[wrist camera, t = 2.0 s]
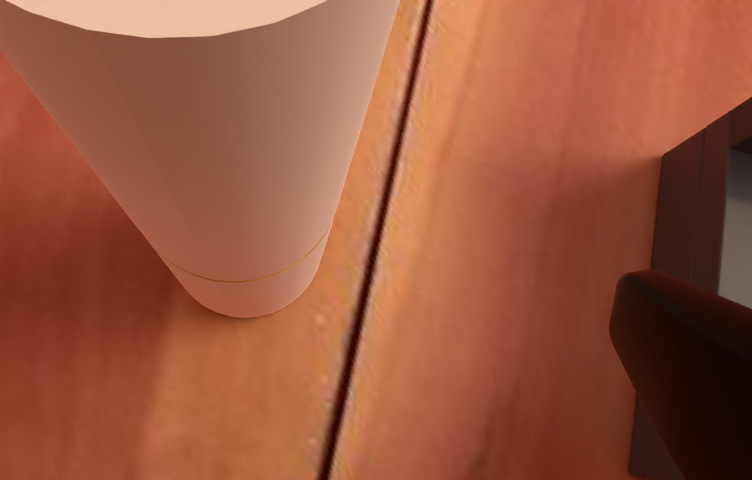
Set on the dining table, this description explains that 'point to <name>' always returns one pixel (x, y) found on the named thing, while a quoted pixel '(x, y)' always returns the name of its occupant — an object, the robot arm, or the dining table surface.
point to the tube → (212, 124)
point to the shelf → (701, 240)
